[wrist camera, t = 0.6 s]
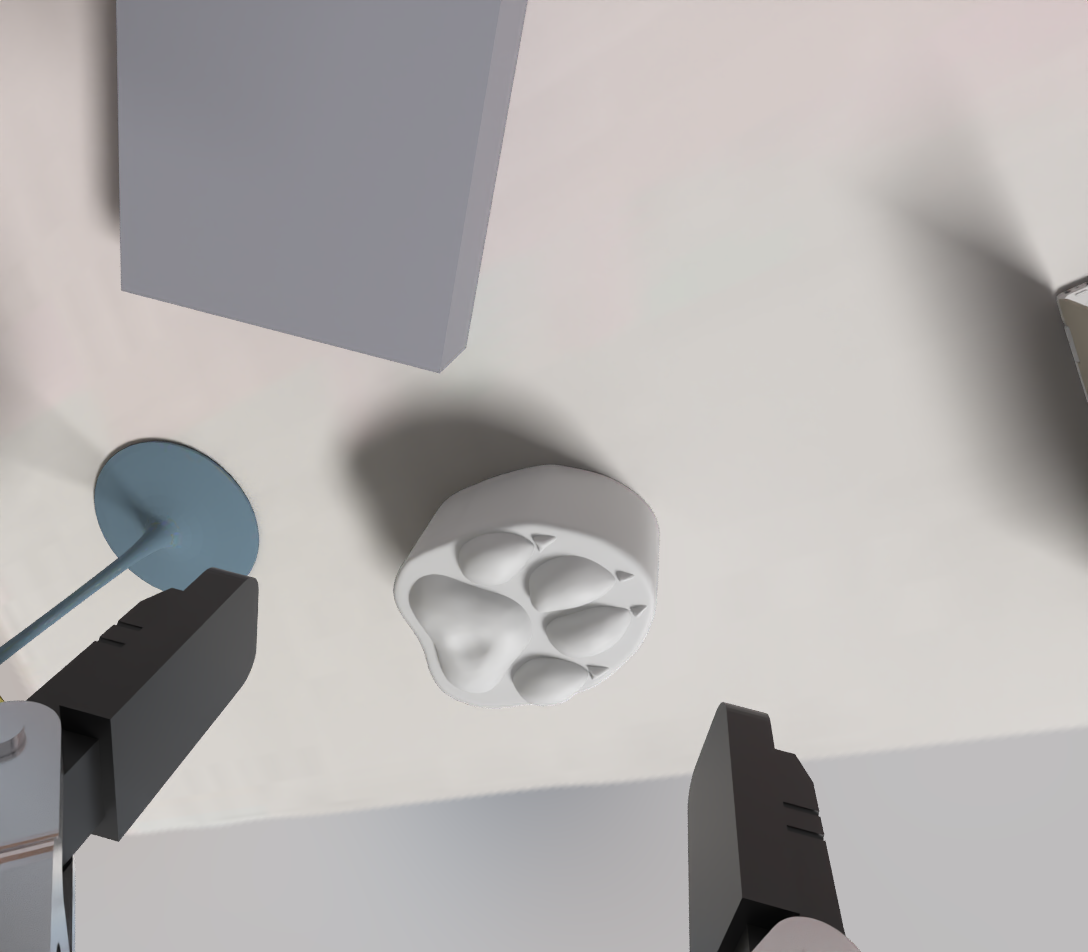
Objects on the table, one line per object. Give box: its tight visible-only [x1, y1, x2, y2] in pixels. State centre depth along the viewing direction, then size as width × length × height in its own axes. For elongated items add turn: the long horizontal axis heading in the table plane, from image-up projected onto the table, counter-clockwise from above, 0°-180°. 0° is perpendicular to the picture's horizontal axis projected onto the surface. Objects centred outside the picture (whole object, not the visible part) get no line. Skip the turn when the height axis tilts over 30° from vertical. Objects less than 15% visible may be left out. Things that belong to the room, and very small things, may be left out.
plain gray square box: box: [116, 0, 528, 373], centre depth 35 cm, size 17×16×5 cm
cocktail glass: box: [0, 441, 259, 703], centre depth 37 cm, size 18×18×25 cm
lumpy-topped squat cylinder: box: [393, 464, 660, 708], centre depth 41 cm, size 10×13×9 cm
